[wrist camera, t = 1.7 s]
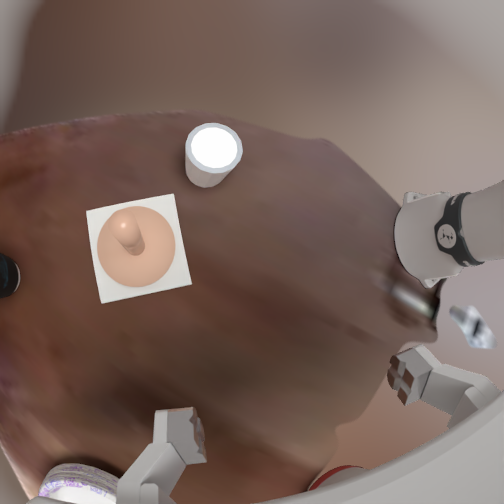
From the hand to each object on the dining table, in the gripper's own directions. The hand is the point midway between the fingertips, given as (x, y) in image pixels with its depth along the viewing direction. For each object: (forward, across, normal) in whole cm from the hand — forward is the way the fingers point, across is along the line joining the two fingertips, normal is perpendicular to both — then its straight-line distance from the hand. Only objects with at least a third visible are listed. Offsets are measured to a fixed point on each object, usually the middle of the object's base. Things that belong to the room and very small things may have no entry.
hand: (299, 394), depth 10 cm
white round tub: (+35, +2, -6) cm, 35 cm away
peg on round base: (+28, +12, +2) cm, 30 cm away
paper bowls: (+10, +29, +32) cm, 44 cm away
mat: (+28, +12, +2) cm, 31 cm away
